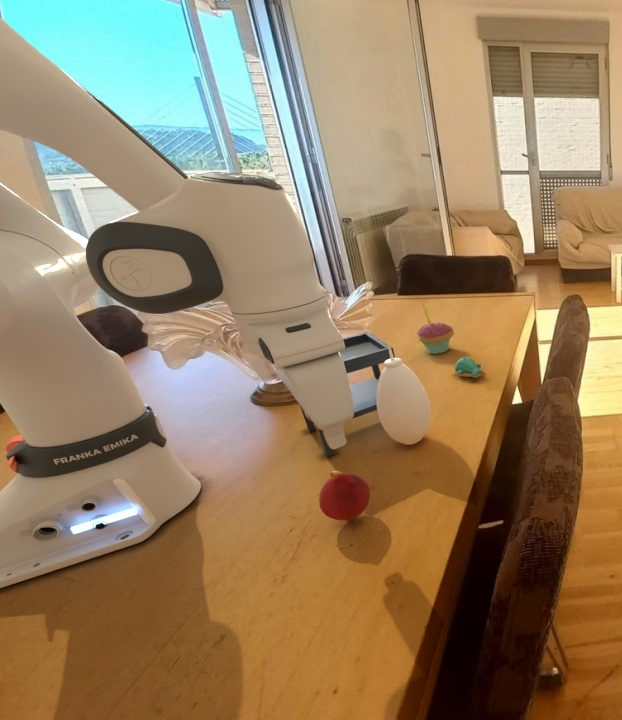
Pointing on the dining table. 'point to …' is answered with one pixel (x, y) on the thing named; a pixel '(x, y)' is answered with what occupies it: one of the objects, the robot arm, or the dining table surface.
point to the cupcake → (435, 335)
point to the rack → (356, 357)
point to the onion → (344, 496)
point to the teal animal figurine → (468, 368)
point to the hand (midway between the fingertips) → (326, 430)
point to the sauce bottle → (402, 402)
